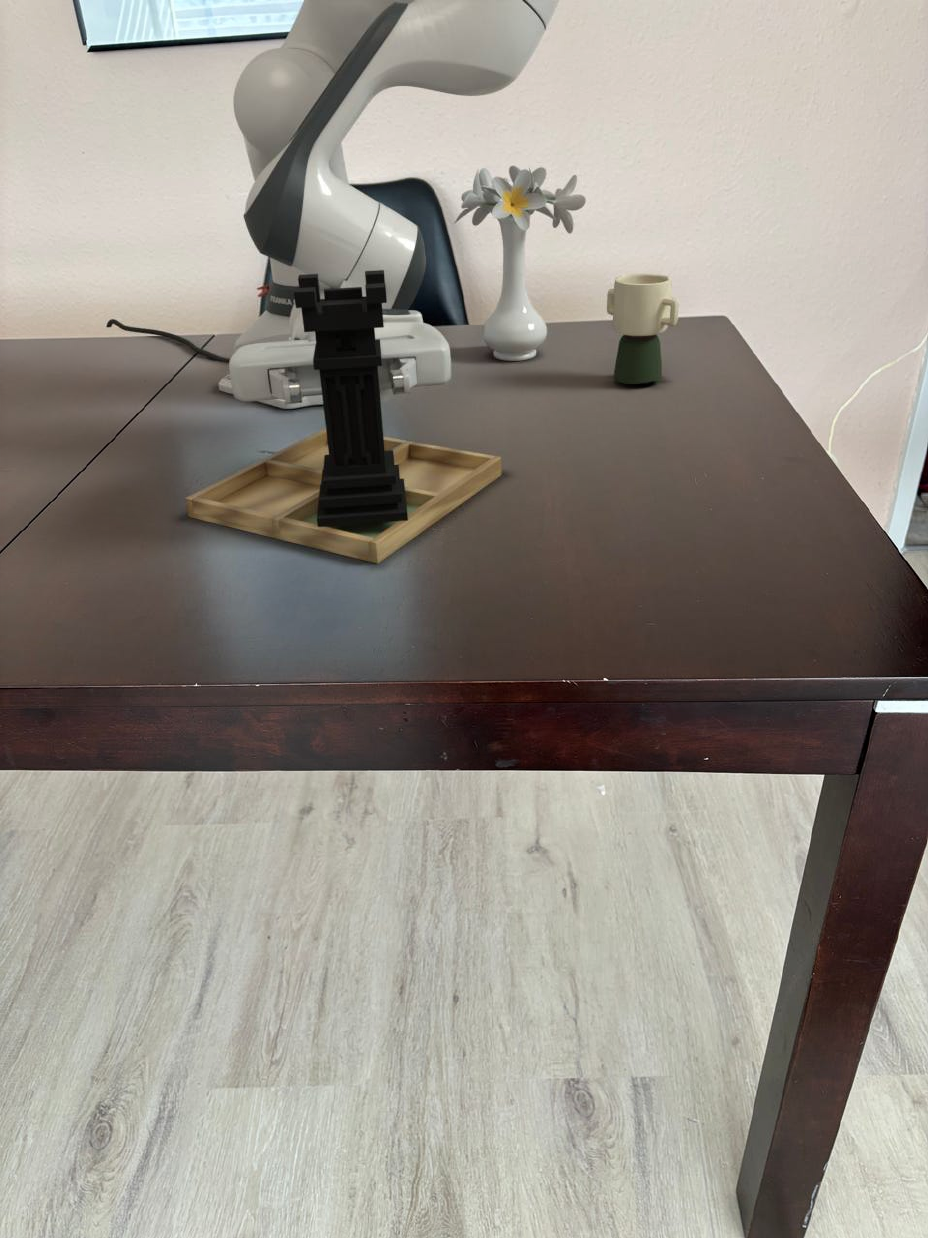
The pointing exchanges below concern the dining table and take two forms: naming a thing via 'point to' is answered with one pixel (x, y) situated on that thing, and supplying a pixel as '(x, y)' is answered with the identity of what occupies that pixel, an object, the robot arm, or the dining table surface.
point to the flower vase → (517, 251)
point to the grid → (290, 483)
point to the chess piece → (352, 403)
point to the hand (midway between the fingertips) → (347, 389)
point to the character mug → (641, 324)
